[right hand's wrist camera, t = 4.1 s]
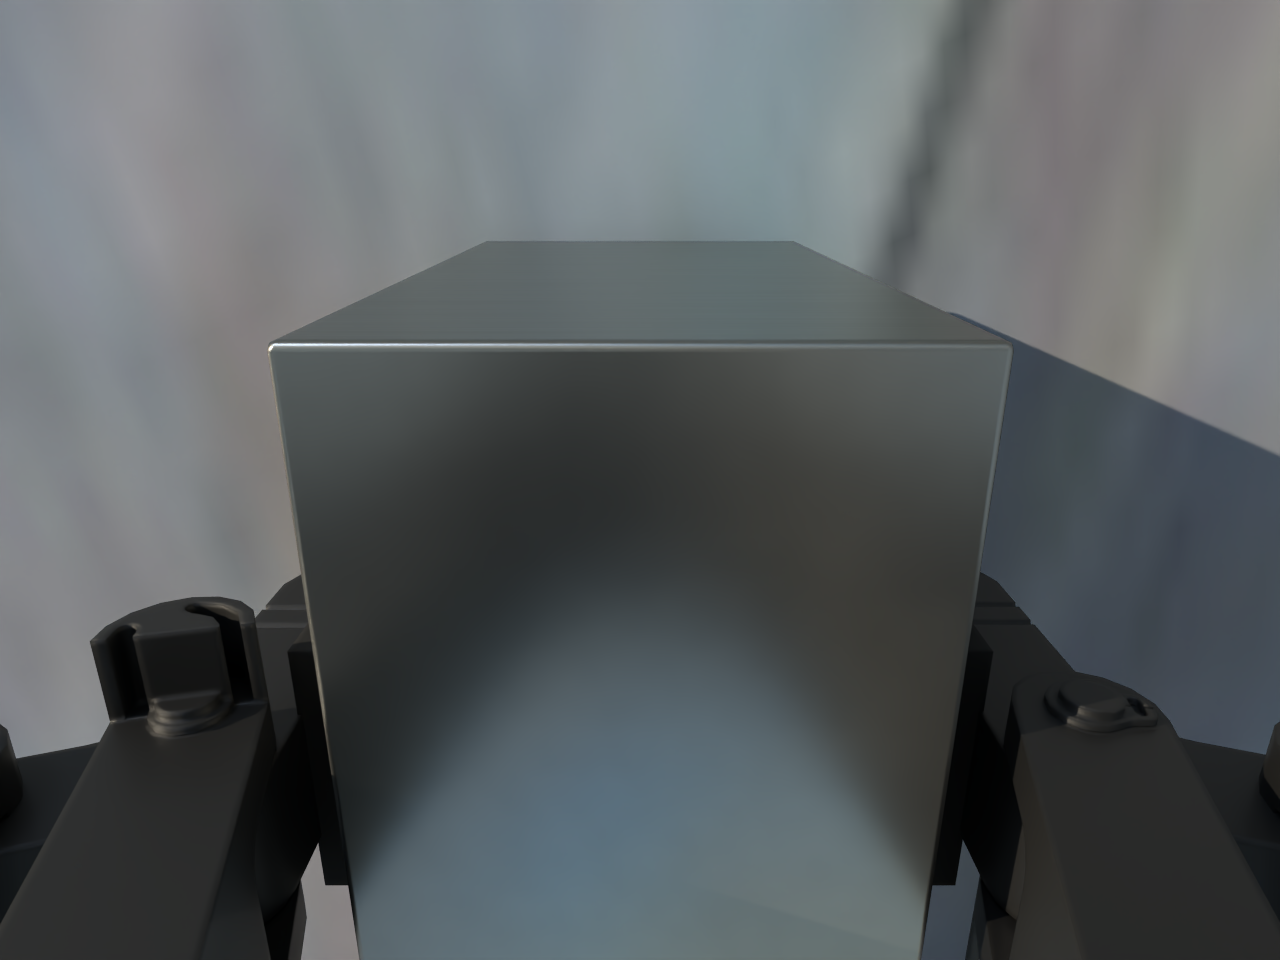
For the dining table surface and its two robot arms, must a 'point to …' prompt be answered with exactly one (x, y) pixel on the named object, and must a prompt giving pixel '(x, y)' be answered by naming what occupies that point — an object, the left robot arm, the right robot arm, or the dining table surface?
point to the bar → (640, 597)
